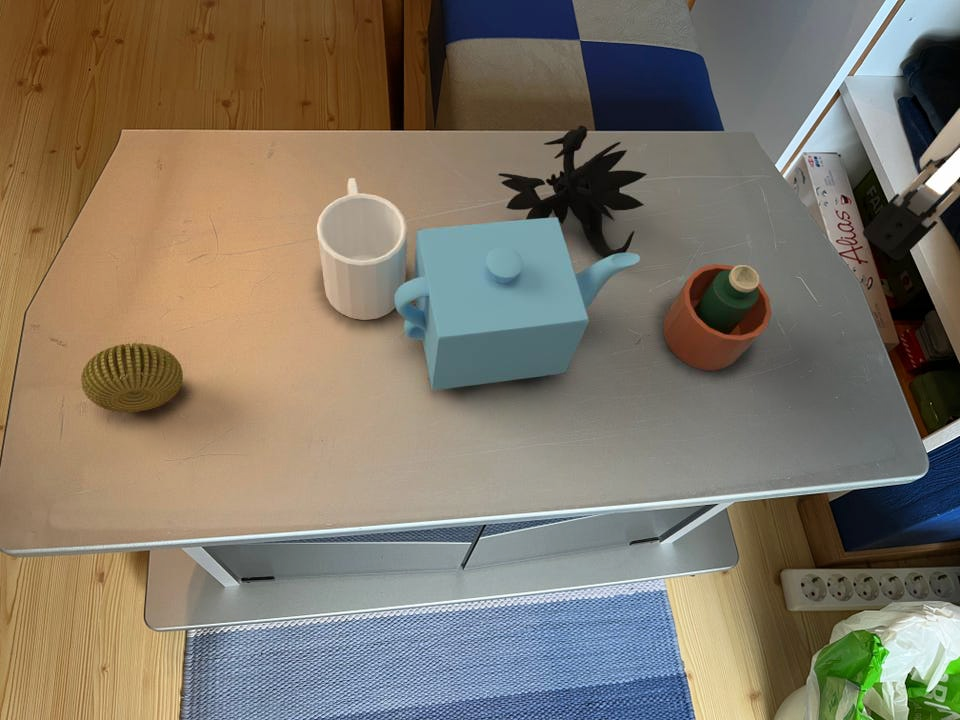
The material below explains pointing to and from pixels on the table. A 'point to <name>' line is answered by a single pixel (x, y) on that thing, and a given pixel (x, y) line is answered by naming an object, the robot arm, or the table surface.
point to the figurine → (579, 190)
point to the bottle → (728, 298)
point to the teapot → (499, 300)
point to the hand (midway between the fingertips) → (914, 212)
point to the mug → (362, 253)
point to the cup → (701, 341)
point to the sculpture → (132, 377)
